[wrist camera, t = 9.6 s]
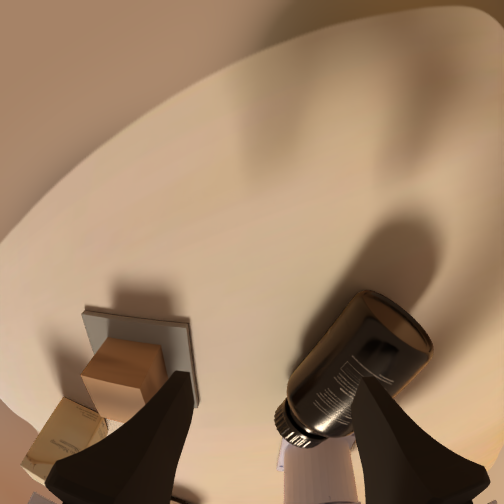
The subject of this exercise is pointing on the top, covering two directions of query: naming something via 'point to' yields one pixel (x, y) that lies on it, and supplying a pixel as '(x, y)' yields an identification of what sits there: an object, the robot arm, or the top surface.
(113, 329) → the slate mat
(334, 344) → the supplement bottle
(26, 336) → the top surface
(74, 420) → the skincare box
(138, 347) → the walnut cube
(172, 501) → the spread jar
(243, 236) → the top surface
